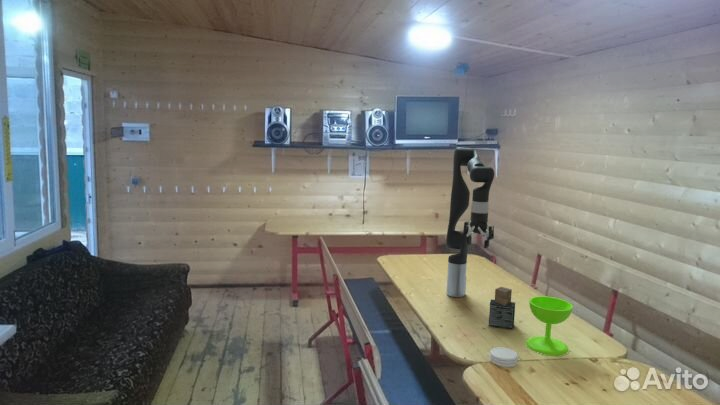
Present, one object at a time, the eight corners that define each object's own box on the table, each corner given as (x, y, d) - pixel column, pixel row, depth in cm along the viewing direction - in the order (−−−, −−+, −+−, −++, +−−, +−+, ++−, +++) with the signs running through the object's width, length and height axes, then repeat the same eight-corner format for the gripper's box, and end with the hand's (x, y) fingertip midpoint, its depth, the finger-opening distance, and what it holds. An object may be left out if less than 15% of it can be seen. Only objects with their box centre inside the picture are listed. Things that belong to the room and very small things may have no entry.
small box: (514, 324, 218) (516, 301, 216) (513, 330, 212) (515, 306, 210) (489, 320, 221) (491, 298, 219) (488, 326, 215) (489, 303, 213)
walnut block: (500, 299, 218) (501, 286, 217) (510, 302, 215) (511, 289, 214) (494, 302, 215) (495, 289, 214) (504, 305, 211) (505, 292, 210)
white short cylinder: (490, 353, 190) (490, 344, 189) (517, 357, 187) (518, 348, 186) (489, 365, 180) (489, 356, 180) (517, 369, 177) (518, 360, 177)
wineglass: (546, 358, 186) (550, 313, 183) (517, 341, 200) (520, 298, 198) (577, 352, 192) (582, 307, 190) (547, 335, 207) (551, 294, 204)
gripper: (498, 212, 220) (495, 247, 222) (470, 208, 229) (468, 242, 232) (489, 214, 214) (487, 250, 217) (461, 209, 224) (459, 244, 227)
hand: (477, 246), depth 224 cm, fingers open, 8 cm apart
